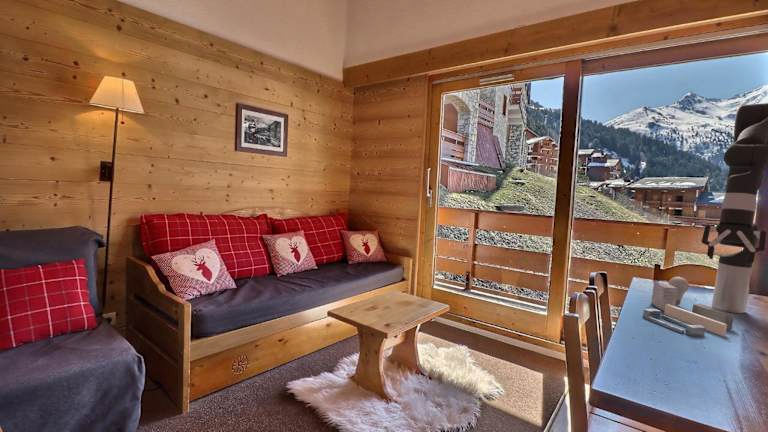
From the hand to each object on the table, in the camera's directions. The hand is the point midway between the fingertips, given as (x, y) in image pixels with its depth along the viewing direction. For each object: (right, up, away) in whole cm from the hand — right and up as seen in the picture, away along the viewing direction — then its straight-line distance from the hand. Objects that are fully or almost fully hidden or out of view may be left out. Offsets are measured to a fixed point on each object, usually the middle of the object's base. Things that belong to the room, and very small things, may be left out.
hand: (729, 261), depth 117 cm
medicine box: (-3, -20, +24) cm, 31 cm away
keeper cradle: (-13, -21, +5) cm, 25 cm away
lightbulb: (+5, -20, +28) cm, 35 cm away
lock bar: (+3, -22, +10) cm, 24 cm away
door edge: (-5, -21, +8) cm, 23 cm away
